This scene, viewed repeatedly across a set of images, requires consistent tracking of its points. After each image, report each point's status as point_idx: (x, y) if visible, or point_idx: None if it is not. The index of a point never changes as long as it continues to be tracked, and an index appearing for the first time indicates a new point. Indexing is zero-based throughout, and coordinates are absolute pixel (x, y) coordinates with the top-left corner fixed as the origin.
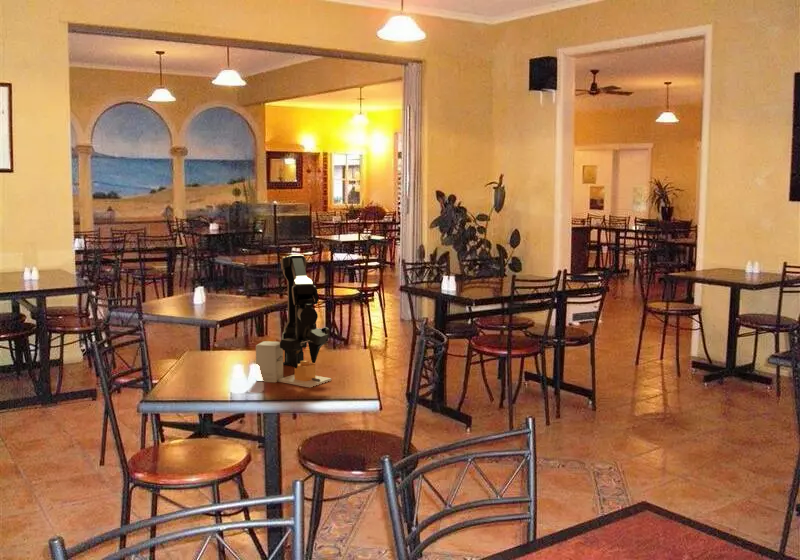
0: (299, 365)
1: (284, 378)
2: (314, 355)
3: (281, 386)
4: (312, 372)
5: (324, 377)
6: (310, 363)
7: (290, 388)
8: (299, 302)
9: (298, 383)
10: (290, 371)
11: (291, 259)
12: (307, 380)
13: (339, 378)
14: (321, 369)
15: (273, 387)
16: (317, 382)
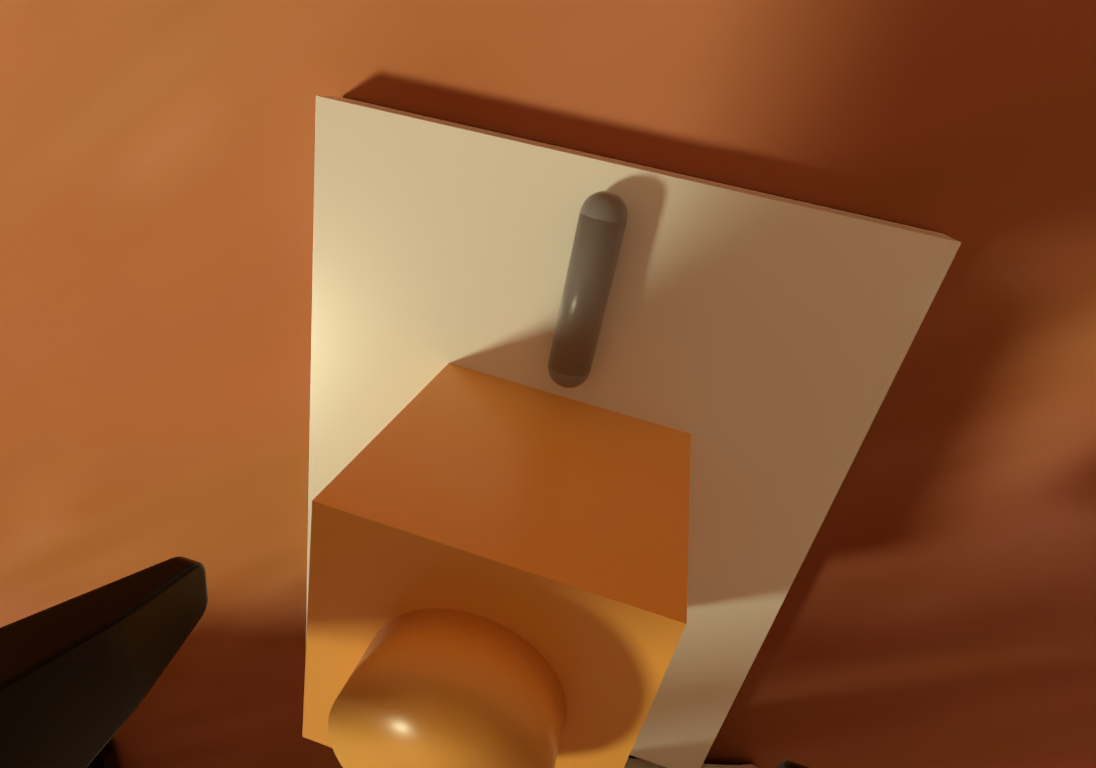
0: (587, 763)
1: None
2: (29, 710)
3: (946, 667)
4: (481, 440)
5: (328, 250)
6: (313, 615)
7: (1060, 526)
8: None
9: (829, 496)
10: (262, 731)
11: None
12: (642, 423)
13: (149, 38)
14: (4, 491)
15: (1030, 739)
16: (693, 204)
